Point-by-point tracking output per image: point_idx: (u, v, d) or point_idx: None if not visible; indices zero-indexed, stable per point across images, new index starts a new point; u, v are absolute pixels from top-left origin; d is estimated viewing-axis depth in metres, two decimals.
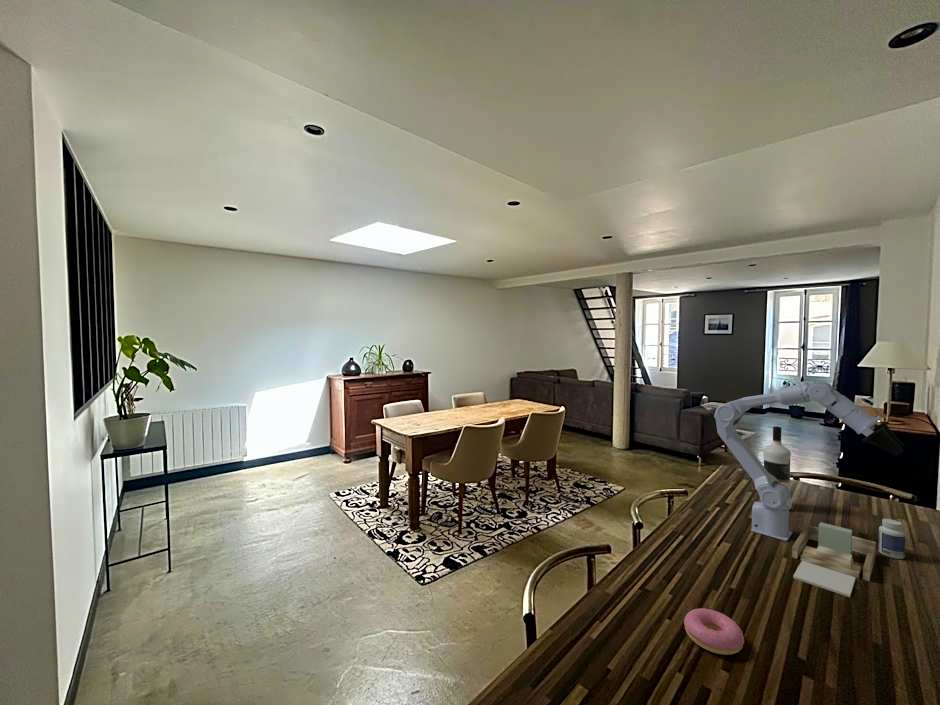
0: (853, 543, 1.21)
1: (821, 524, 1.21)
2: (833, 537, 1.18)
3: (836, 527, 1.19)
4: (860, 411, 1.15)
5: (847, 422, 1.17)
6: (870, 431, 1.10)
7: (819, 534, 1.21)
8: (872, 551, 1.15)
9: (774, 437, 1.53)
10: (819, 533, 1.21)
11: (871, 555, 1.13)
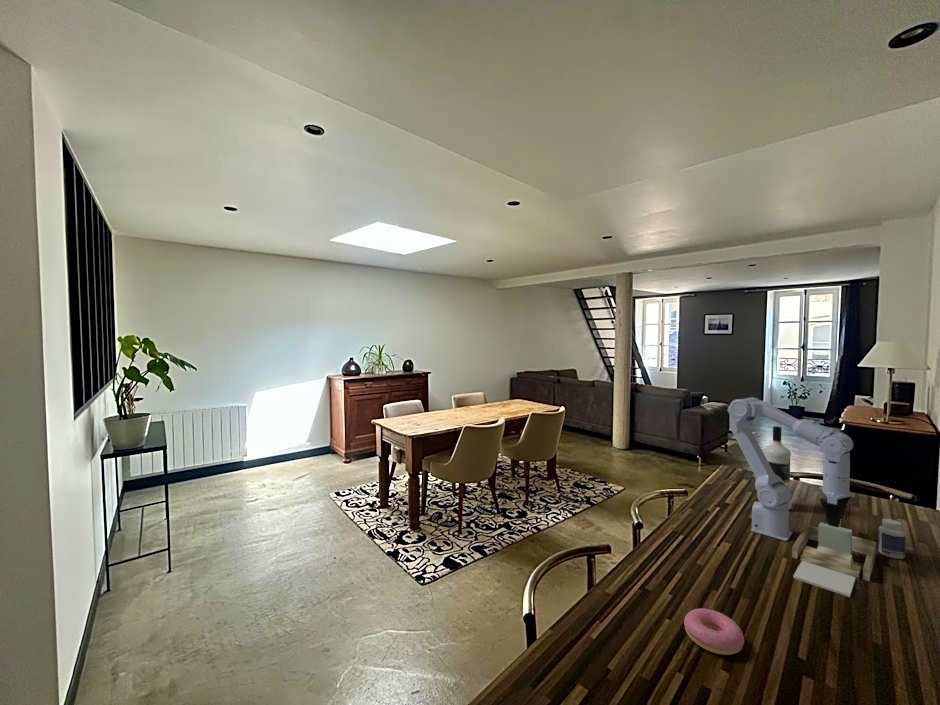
0: (853, 543, 1.21)
1: (821, 524, 1.21)
2: (833, 537, 1.18)
3: (836, 527, 1.19)
4: (846, 482, 1.16)
5: (825, 479, 1.19)
6: (834, 502, 1.13)
7: (819, 534, 1.21)
8: (872, 551, 1.15)
9: (774, 437, 1.53)
10: (819, 533, 1.21)
11: (871, 555, 1.13)
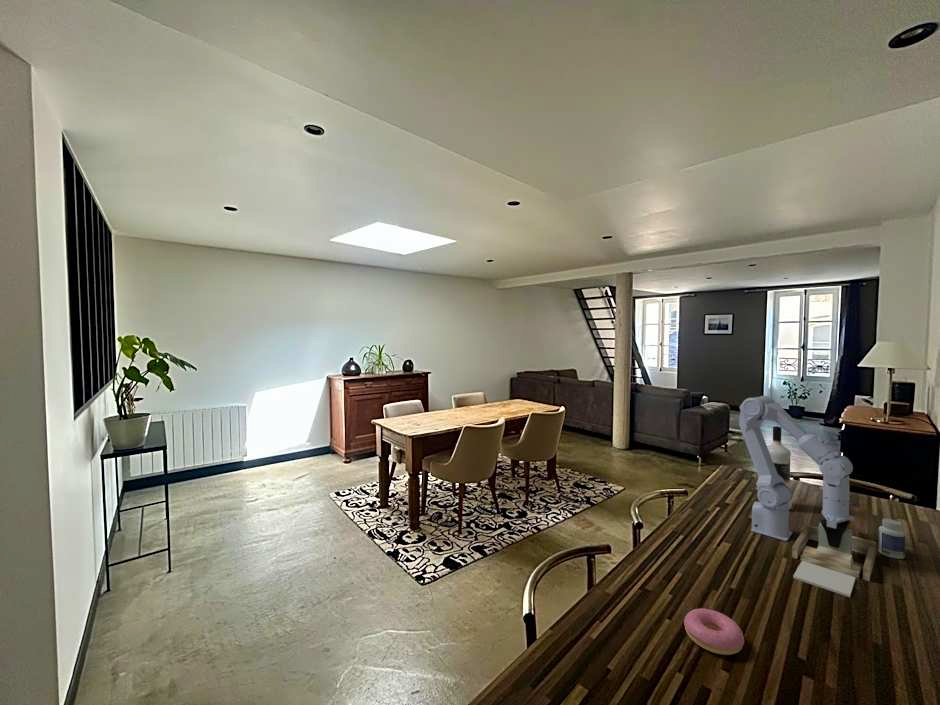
0: (853, 543, 1.21)
1: (821, 524, 1.21)
2: None
3: None
4: (845, 505, 1.16)
5: (825, 502, 1.19)
6: (834, 526, 1.14)
7: (819, 534, 1.20)
8: (872, 551, 1.15)
9: (774, 437, 1.53)
10: (819, 533, 1.20)
11: (871, 555, 1.13)
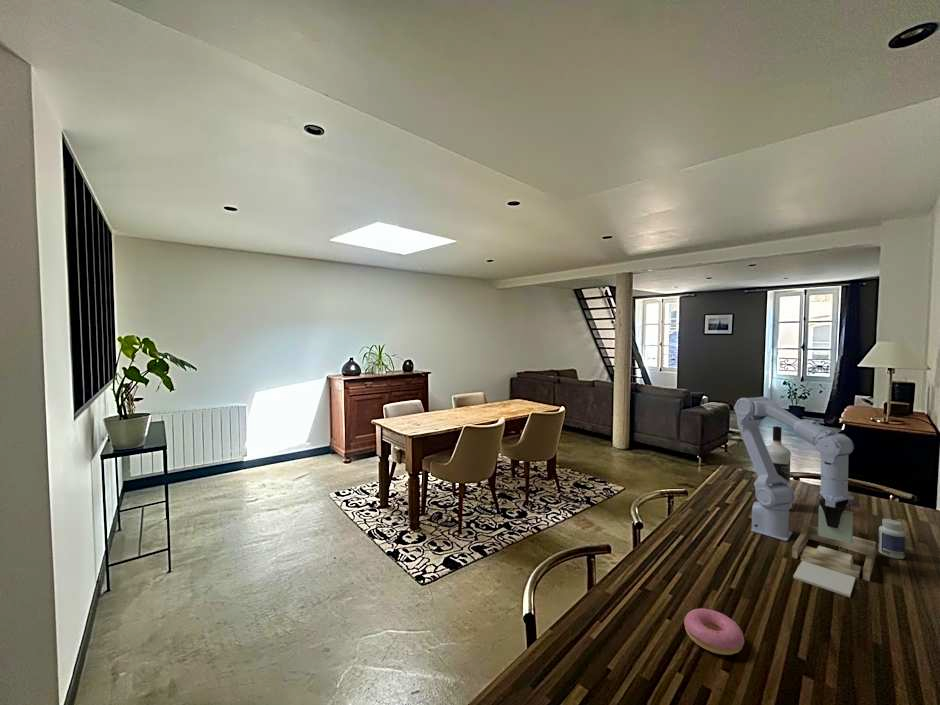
0: (853, 543, 1.21)
1: None
2: None
3: None
4: (844, 484, 1.13)
5: (823, 482, 1.16)
6: (833, 505, 1.11)
7: (819, 517, 1.17)
8: (872, 551, 1.15)
9: (774, 437, 1.53)
10: (819, 516, 1.17)
11: (871, 555, 1.13)
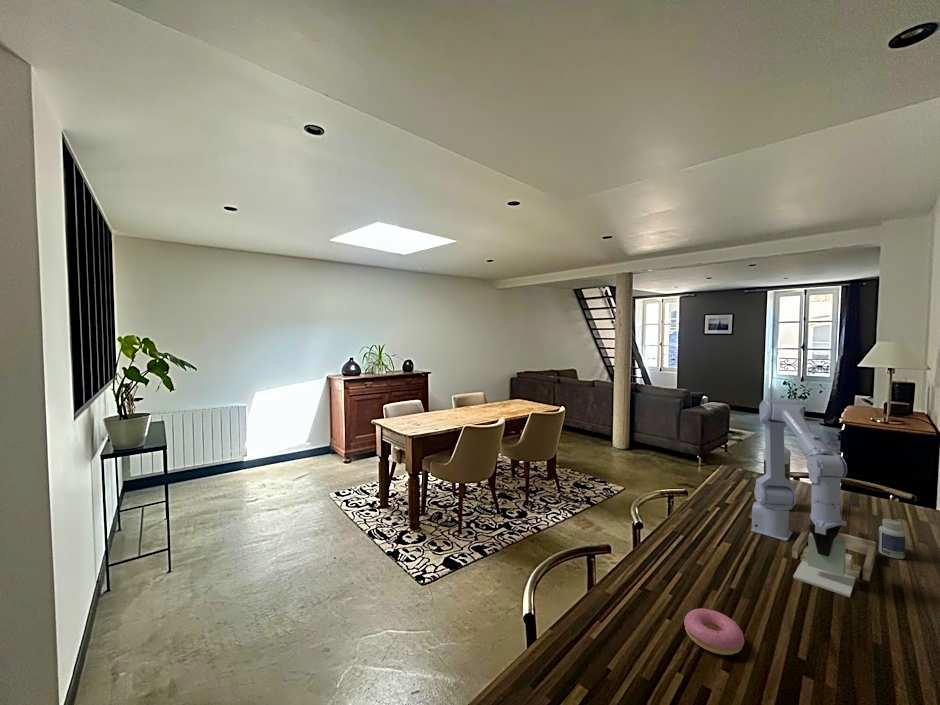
0: (853, 543, 1.21)
1: (811, 534, 1.09)
2: None
3: None
4: (836, 509, 1.04)
5: (814, 505, 1.07)
6: (823, 532, 1.02)
7: (809, 545, 1.08)
8: (872, 551, 1.15)
9: None
10: (809, 544, 1.08)
11: (871, 555, 1.13)
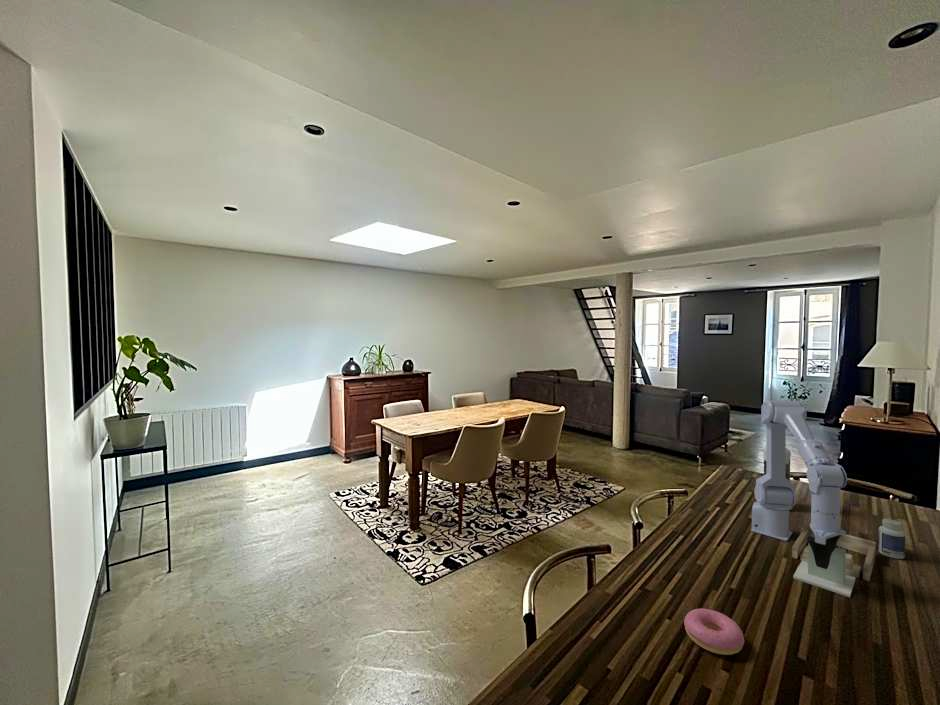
0: (853, 543, 1.21)
1: None
2: None
3: None
4: (836, 519, 1.04)
5: (813, 515, 1.07)
6: (823, 542, 1.02)
7: (809, 554, 1.08)
8: (872, 551, 1.15)
9: None
10: (809, 553, 1.08)
11: (871, 555, 1.13)
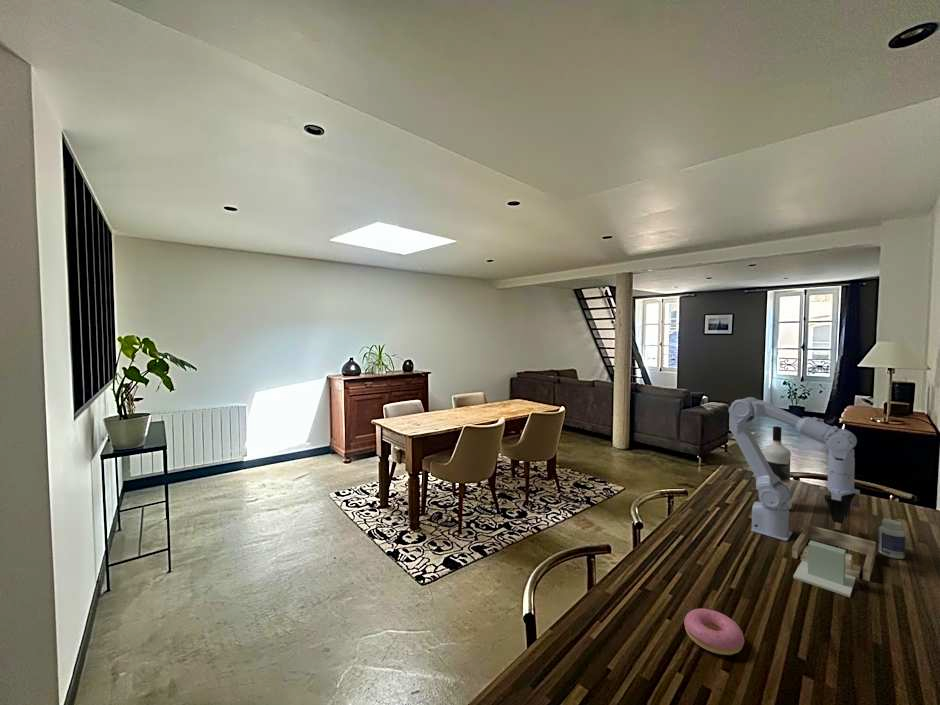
0: (853, 543, 1.21)
1: (811, 543, 1.09)
2: (824, 558, 1.06)
3: (828, 546, 1.07)
4: (850, 478, 1.16)
5: (830, 476, 1.19)
6: (839, 498, 1.14)
7: (809, 554, 1.08)
8: (872, 551, 1.15)
9: (774, 437, 1.53)
10: (809, 553, 1.08)
11: (871, 555, 1.13)
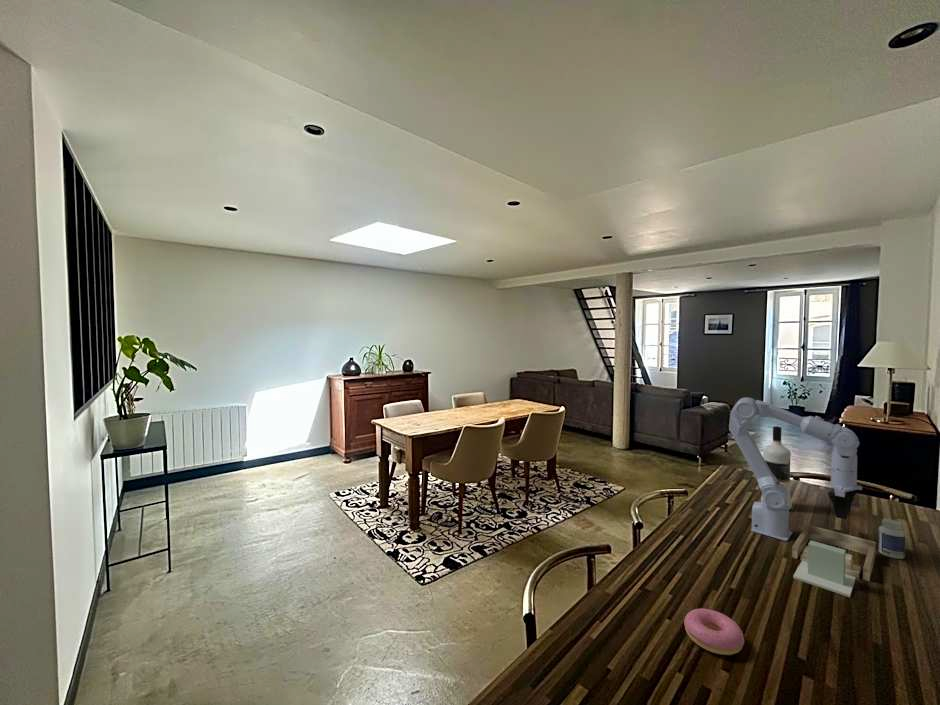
0: (853, 543, 1.21)
1: (811, 543, 1.09)
2: (824, 558, 1.06)
3: (828, 546, 1.07)
4: (853, 475, 1.19)
5: (833, 473, 1.22)
6: (842, 495, 1.17)
7: (809, 554, 1.08)
8: (872, 551, 1.15)
9: (774, 437, 1.53)
10: (809, 553, 1.08)
11: (871, 555, 1.13)
